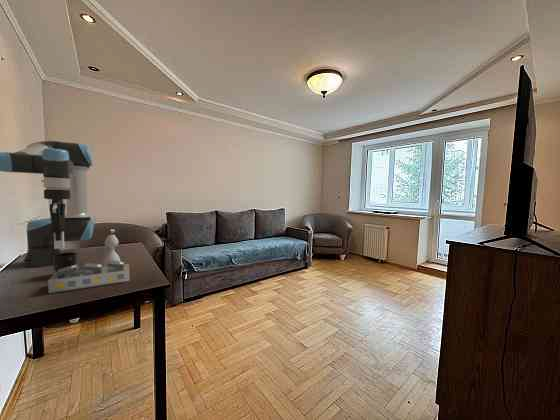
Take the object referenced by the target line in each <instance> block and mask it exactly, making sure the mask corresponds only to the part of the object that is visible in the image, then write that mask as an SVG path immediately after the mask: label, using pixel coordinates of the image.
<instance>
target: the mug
mask: <svg viewBox="0 0 560 420" xmlns="http://www.w3.org/2000/svg"><path fill="white" fill-rule="evenodd" d="M77 255H78V254H77V252H73V251H72V252H71V251H69V252H62V253H59V254H55V255H53V256H52V257H53V264H52V266H53V269H54V271H55V272H54V273H57V271H58V270H59V269H62V268H65V267H69V266H73V265H77V262H78V261H77V260H78V258H77V257H78V256H77Z"/></svg>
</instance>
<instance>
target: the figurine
mask: <svg viewBox="0 0 560 420" xmlns="http://www.w3.org/2000/svg"><path fill="white" fill-rule="evenodd" d="M115 232H116V230H115V229H112V228H111V229H110V233H111V234H109V235H107V237H106V238H105V240H104V246H105V247H106V248H108V250H109V251H108V253H107V254H106V255H105V257H104V258H103V261H102V267H107V264H108V261H118V262H122V261H121V258H120V256H119V254H118V253H117V252H116V251H115V248H116V247H117V246H118V245H119V239H118V238H117V237H116V235H115V234H113V233H115Z"/></svg>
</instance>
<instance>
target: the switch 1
mask: <svg viewBox="0 0 560 420" xmlns="http://www.w3.org/2000/svg"><path fill="white" fill-rule="evenodd" d="M77 270H80V267H79V264H78V263H76V265H73V266H69V267H65V268H62V269H59V270H58V271H57V276H62V275H65V274H69V273H72V272H76V271H77Z"/></svg>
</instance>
